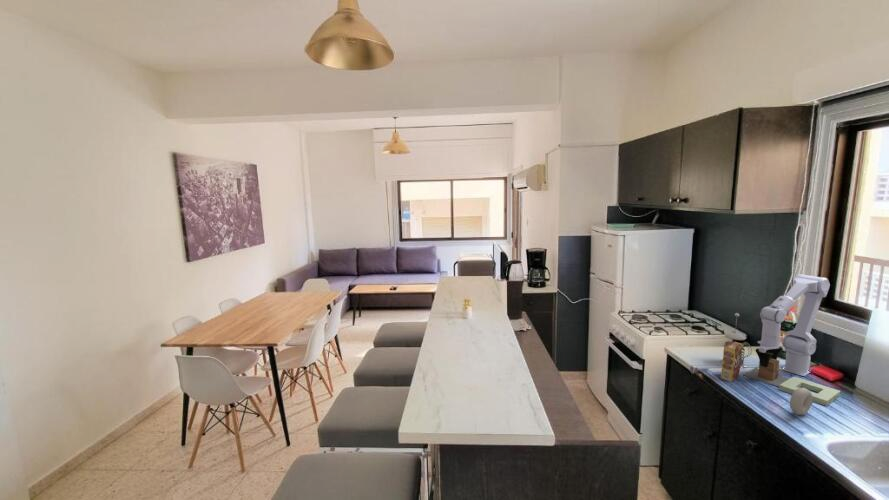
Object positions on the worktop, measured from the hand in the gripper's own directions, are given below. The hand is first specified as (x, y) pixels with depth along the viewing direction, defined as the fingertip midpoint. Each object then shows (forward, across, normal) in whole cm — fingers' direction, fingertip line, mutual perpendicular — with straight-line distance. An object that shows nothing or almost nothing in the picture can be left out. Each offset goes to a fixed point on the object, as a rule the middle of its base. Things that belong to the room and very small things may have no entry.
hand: (767, 364), depth 157 cm
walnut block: (+6, 0, 0) cm, 6 cm away
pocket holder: (+6, +1, +14) cm, 15 cm away
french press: (+6, -3, -13) cm, 15 cm away
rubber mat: (+6, 0, 0) cm, 6 cm away
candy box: (+6, +13, -8) cm, 17 cm away
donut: (+6, +23, +18) cm, 30 cm away
